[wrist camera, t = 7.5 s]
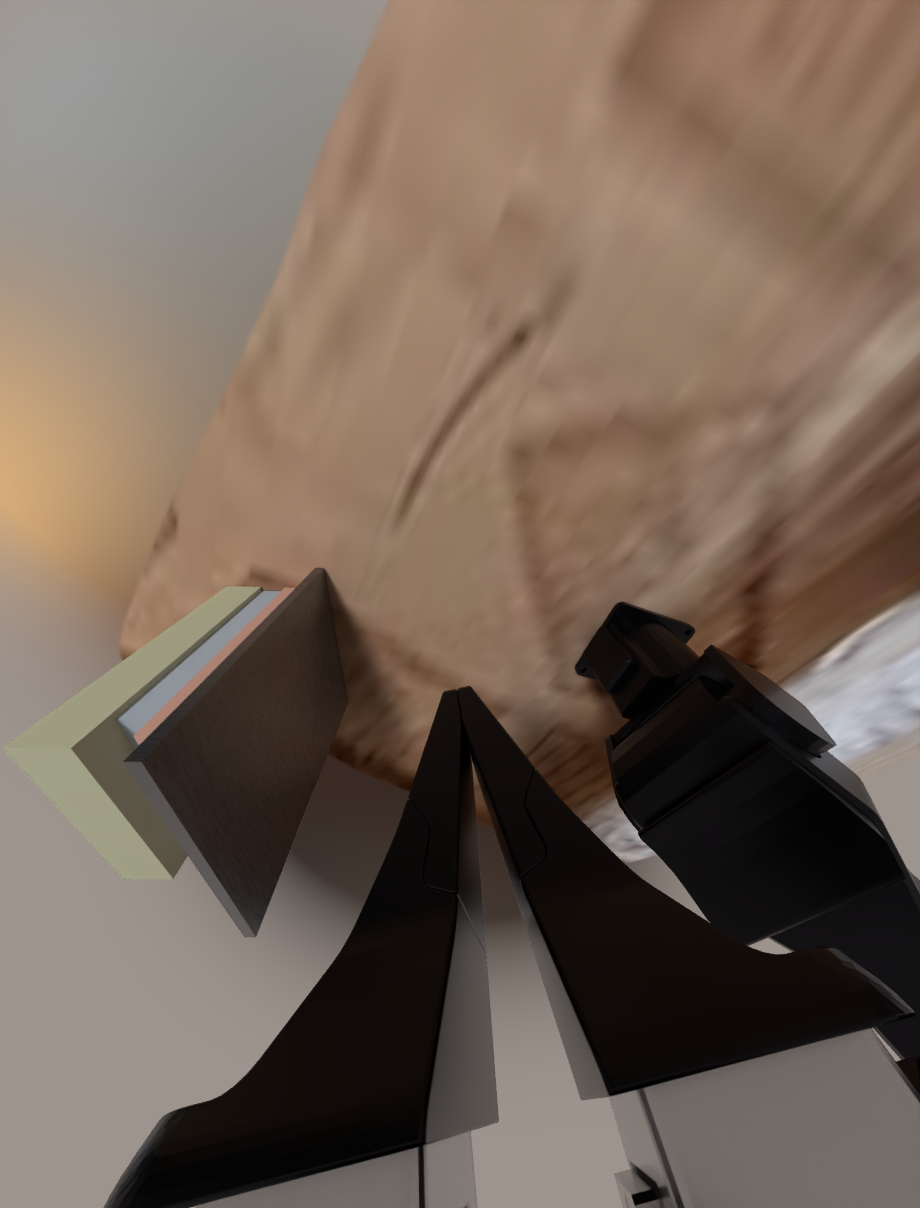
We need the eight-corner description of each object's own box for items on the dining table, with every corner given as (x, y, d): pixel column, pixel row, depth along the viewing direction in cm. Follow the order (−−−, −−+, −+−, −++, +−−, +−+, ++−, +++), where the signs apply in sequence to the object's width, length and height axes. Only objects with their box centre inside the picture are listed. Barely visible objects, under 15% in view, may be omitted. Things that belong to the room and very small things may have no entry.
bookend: (323, 568, 21) (142, 761, 9) (347, 704, 27) (255, 937, 15) (315, 567, 21) (122, 761, 9) (341, 704, 27) (244, 937, 15)
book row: (315, 587, 22) (181, 748, 11) (335, 689, 26) (252, 877, 15) (226, 586, 22) (1, 748, 11) (261, 688, 26) (124, 879, 15)
